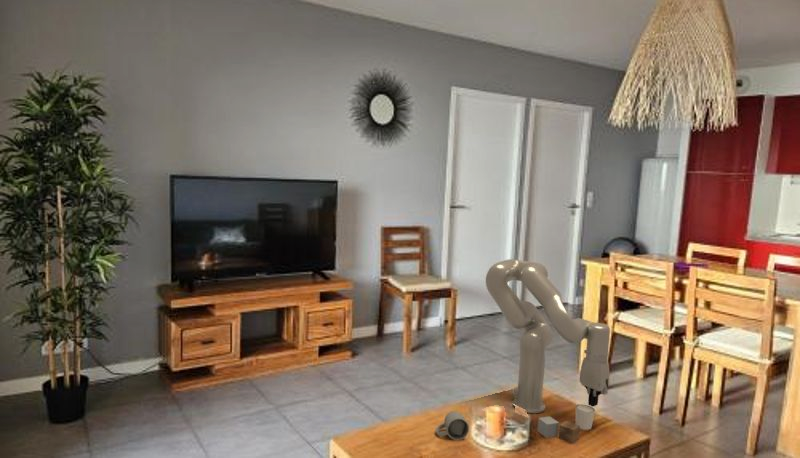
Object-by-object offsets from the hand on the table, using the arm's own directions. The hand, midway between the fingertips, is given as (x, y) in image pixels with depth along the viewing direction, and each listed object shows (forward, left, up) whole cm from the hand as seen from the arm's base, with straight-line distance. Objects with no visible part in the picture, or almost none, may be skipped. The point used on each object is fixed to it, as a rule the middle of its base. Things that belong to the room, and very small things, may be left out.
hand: (592, 404), depth 200 cm
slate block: (-2, -21, -8) cm, 22 cm away
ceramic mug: (-17, -52, -8) cm, 56 cm away
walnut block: (+4, -17, -8) cm, 19 cm away
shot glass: (0, -4, -8) cm, 9 cm away
